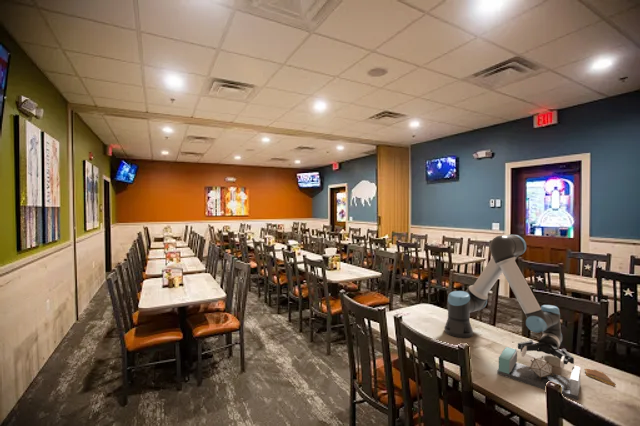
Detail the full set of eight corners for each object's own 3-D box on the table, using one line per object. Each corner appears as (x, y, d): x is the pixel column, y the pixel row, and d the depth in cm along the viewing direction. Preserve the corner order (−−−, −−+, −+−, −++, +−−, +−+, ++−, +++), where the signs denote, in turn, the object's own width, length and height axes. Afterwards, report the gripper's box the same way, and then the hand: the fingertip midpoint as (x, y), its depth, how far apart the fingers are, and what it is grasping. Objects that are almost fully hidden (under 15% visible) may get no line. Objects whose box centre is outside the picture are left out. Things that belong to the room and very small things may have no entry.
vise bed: (504, 362, 148) (505, 346, 148) (580, 384, 129) (580, 367, 129) (497, 373, 138) (497, 357, 137) (577, 400, 119) (578, 380, 119)
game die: (546, 387, 131) (562, 376, 125) (525, 378, 133) (540, 366, 127) (542, 368, 138) (556, 356, 132) (522, 359, 140) (536, 347, 134)
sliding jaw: (506, 359, 147) (506, 346, 147) (517, 362, 144) (517, 349, 144) (498, 370, 137) (498, 357, 137) (510, 374, 134) (510, 360, 134)
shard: (616, 388, 128) (616, 383, 128) (593, 384, 130) (593, 380, 130) (602, 374, 138) (602, 370, 138) (581, 371, 141) (581, 367, 140)
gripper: (583, 360, 139) (579, 378, 123) (518, 343, 156) (507, 357, 141) (583, 343, 139) (579, 360, 123) (518, 328, 156) (508, 341, 140)
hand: (541, 358), depth 132 cm, fingers open, 13 cm apart
